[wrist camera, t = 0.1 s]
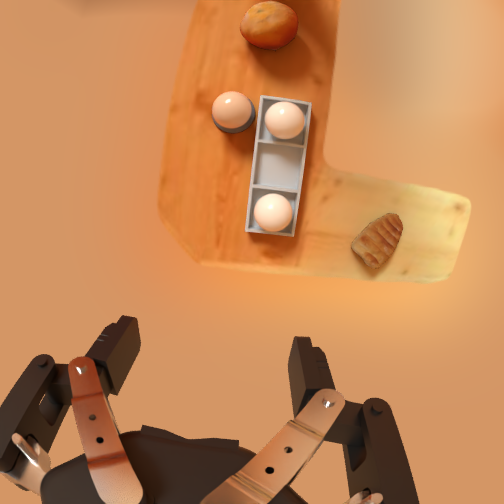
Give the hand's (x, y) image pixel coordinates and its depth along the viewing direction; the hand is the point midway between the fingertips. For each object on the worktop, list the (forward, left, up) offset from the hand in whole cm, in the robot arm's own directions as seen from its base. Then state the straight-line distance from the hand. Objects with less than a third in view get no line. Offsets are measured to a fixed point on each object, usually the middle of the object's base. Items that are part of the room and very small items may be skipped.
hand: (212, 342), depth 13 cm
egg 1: (-14, +4, -26) cm, 30 cm away
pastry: (+1, +22, -30) cm, 37 cm away
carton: (-8, +4, -29) cm, 30 cm away
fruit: (-29, +1, -29) cm, 41 cm away
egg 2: (-1, +4, -26) cm, 26 cm away
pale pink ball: (-15, -3, -26) cm, 30 cm away
